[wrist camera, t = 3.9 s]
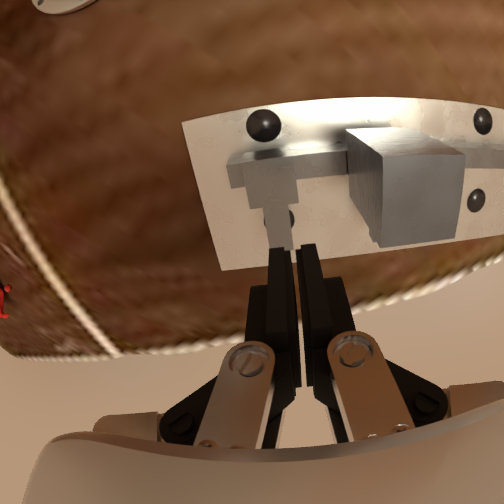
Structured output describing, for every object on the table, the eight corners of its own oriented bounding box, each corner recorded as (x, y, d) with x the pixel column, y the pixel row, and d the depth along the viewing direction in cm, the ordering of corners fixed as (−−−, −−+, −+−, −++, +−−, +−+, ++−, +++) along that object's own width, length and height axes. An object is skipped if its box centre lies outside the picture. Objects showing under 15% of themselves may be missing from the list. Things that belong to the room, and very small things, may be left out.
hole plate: (184, 120, 20) (181, 122, 20) (525, 113, 16) (530, 115, 15) (222, 265, 28) (221, 271, 27) (510, 229, 23) (514, 232, 23)
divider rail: (227, 149, 21) (218, 166, 17) (533, 142, 17) (561, 157, 13) (246, 234, 25) (241, 266, 21) (524, 205, 21) (547, 225, 17)
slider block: (338, 124, 19) (382, 156, 12) (399, 122, 18) (465, 155, 11) (344, 224, 24) (374, 296, 16) (397, 218, 23) (443, 284, 15)
